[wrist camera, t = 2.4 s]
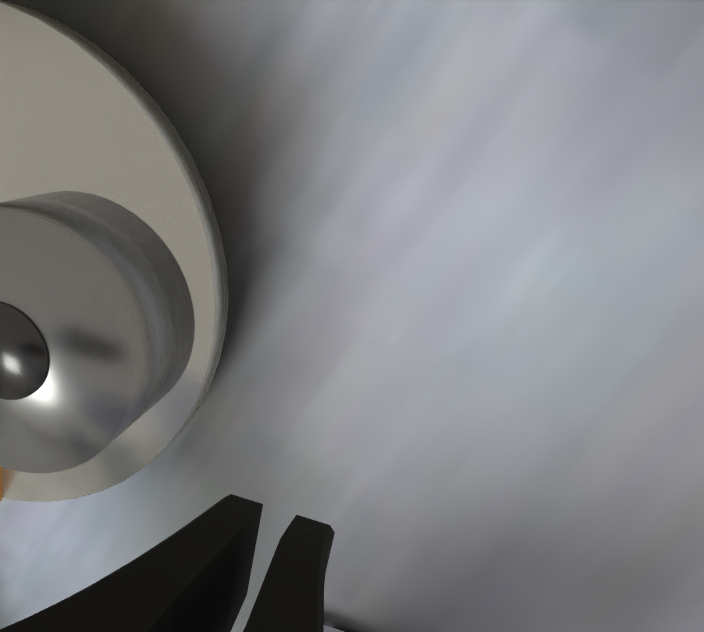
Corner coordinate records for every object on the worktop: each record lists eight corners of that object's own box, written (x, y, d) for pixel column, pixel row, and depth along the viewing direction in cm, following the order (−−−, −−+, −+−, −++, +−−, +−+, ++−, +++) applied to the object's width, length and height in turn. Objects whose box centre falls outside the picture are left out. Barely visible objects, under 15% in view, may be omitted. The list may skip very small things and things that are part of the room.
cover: (208, 223, 18) (139, 251, 14) (181, 440, 20) (117, 509, 17) (-17, 166, 19) (-131, 180, 15) (-16, 380, 21) (-115, 433, 18)
